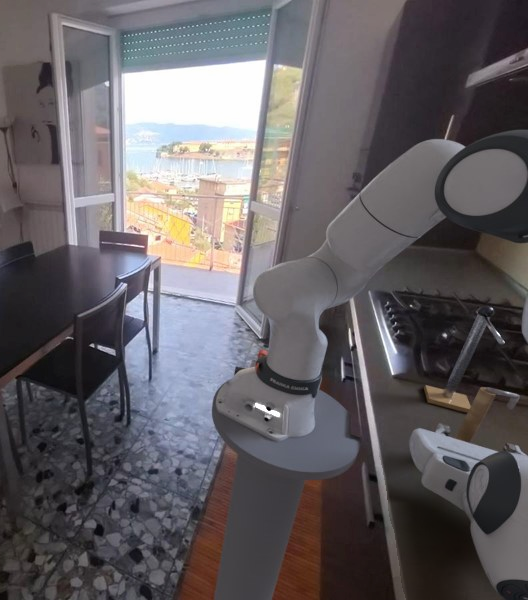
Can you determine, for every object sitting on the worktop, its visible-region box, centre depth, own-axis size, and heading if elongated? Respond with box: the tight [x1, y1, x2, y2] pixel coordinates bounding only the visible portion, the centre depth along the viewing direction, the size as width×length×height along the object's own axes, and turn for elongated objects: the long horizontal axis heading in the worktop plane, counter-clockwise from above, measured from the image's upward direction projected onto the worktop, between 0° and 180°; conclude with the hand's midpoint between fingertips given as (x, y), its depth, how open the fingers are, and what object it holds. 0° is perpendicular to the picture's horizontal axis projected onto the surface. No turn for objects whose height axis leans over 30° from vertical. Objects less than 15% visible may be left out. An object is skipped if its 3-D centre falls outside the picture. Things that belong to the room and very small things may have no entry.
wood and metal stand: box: [423, 305, 505, 414], centre depth 78 cm, size 8×15×26 cm, turn 149°
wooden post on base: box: [454, 386, 521, 444], centre depth 68 cm, size 7×5×18 cm
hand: (475, 436), depth 65 cm, fingers open, 8 cm apart
